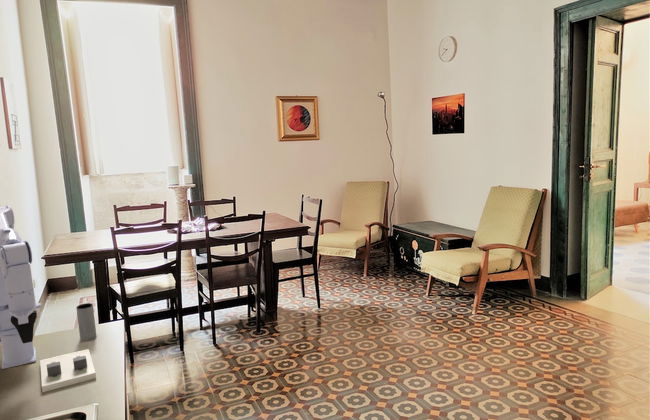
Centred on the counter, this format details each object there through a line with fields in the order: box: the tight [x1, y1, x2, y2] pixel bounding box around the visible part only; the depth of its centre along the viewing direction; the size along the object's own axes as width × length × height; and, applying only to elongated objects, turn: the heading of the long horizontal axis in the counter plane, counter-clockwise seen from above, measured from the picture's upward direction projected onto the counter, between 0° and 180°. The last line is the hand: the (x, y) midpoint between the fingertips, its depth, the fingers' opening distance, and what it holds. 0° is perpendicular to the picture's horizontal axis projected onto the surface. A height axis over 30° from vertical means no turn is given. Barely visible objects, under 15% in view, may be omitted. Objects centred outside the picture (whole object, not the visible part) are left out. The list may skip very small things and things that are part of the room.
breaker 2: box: [73, 356, 87, 370], centre depth 127 cm, size 2×3×2 cm, turn 121°
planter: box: [75, 302, 97, 342], centre depth 148 cm, size 4×4×10 cm
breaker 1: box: [47, 362, 61, 377], centre depth 124 cm, size 2×3×2 cm, turn 121°
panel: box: [39, 348, 97, 393], centre depth 128 cm, size 16×12×2 cm
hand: (27, 341), depth 123 cm, fingers closed
